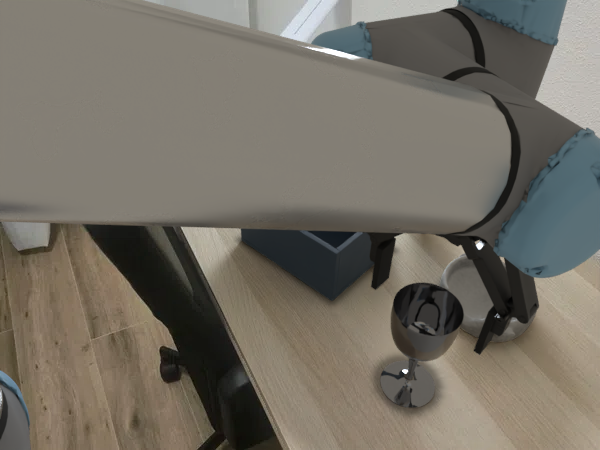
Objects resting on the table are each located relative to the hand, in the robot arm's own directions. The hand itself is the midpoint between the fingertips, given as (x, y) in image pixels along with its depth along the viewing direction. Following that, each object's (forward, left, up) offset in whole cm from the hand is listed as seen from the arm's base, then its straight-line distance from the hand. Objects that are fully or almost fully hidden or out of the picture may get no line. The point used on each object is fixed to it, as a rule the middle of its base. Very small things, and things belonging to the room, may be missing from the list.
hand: (428, 312), depth 63 cm
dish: (+19, -1, -14) cm, 24 cm away
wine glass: (0, 0, -14) cm, 14 cm away
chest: (+12, +26, -14) cm, 32 cm away
